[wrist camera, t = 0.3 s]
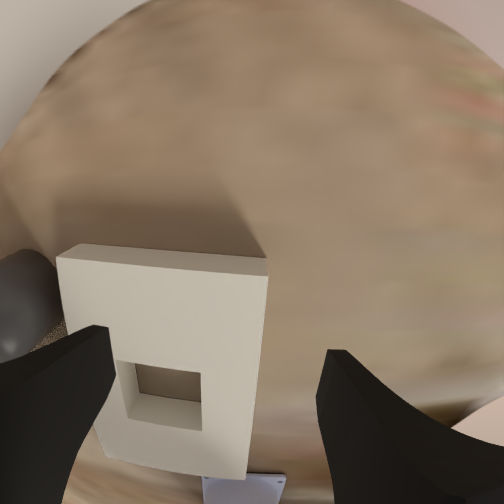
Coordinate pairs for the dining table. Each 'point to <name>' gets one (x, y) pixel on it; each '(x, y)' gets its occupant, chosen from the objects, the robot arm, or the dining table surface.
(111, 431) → the bore plate
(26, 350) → the round peg
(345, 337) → the dining table surface
